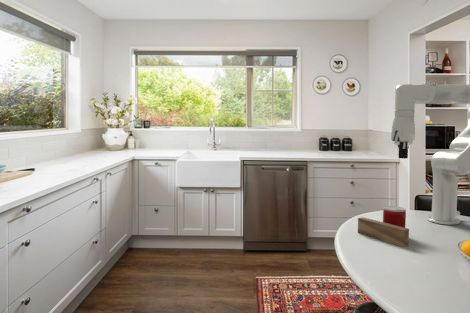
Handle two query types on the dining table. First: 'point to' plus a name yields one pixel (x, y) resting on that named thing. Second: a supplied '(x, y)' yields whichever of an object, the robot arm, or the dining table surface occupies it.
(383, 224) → the walnut board
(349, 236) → the dining table surface
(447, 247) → the dining table surface
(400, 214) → the canned food
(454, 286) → the dining table surface
